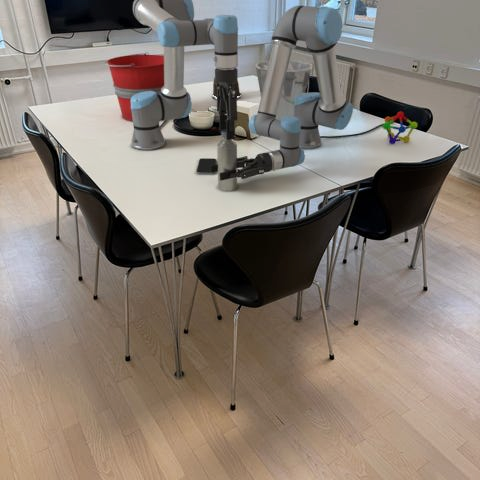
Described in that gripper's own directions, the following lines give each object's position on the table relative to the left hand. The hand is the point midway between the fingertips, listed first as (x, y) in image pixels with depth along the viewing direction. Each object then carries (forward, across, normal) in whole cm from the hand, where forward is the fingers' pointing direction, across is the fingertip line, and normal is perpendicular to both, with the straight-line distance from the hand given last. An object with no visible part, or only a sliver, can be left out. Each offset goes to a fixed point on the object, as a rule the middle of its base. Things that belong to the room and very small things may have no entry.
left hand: (226, 135), depth 158 cm
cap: (-2, 0, 0) cm, 2 cm away
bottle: (+20, 0, 0) cm, 20 cm away
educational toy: (+20, -16, +92) cm, 95 cm away
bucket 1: (+20, -105, -9) cm, 107 cm away
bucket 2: (+20, -72, +59) cm, 95 cm away
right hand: (+13, +1, -5) cm, 14 cm away
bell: (+20, -125, +47) cm, 135 cm away
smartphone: (+20, -22, -1) cm, 29 cm away
